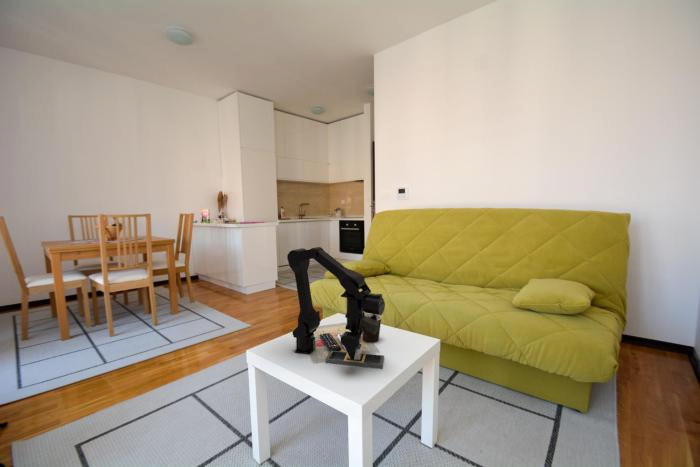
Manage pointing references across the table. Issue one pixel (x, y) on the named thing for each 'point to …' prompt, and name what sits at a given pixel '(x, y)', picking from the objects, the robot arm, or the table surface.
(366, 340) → the coffee mug
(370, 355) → the rail
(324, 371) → the table surface
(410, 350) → the table surface
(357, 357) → the block
